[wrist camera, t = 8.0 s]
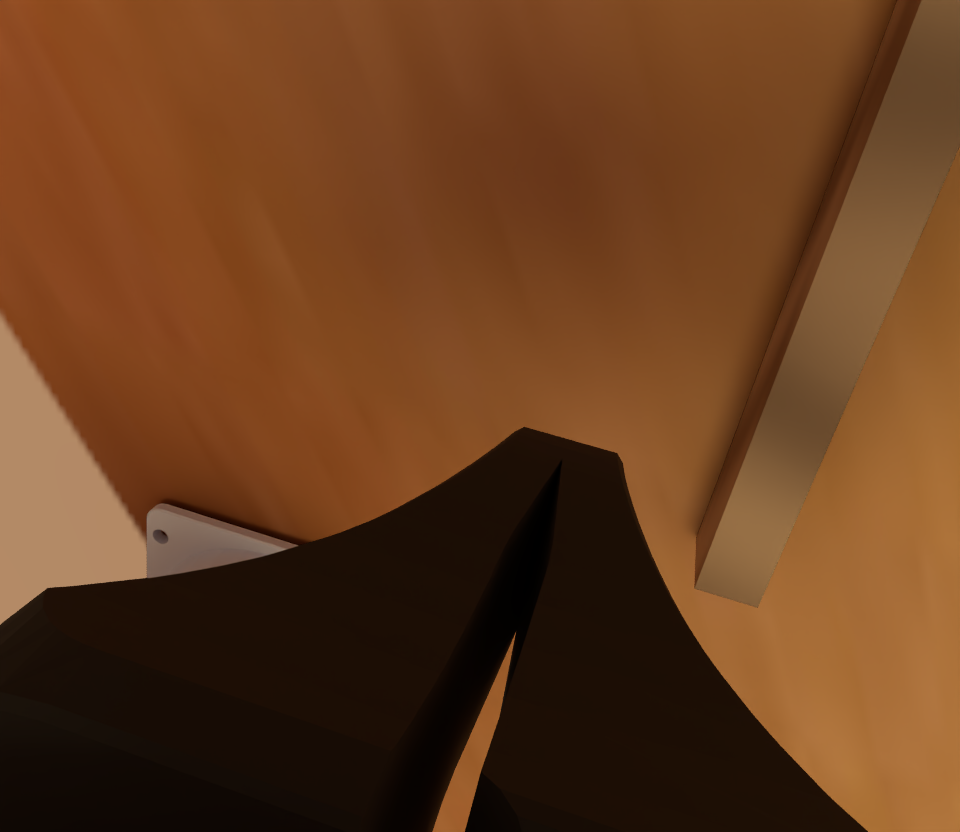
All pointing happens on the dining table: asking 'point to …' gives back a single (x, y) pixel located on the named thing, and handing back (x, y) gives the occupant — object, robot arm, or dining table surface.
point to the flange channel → (837, 296)
